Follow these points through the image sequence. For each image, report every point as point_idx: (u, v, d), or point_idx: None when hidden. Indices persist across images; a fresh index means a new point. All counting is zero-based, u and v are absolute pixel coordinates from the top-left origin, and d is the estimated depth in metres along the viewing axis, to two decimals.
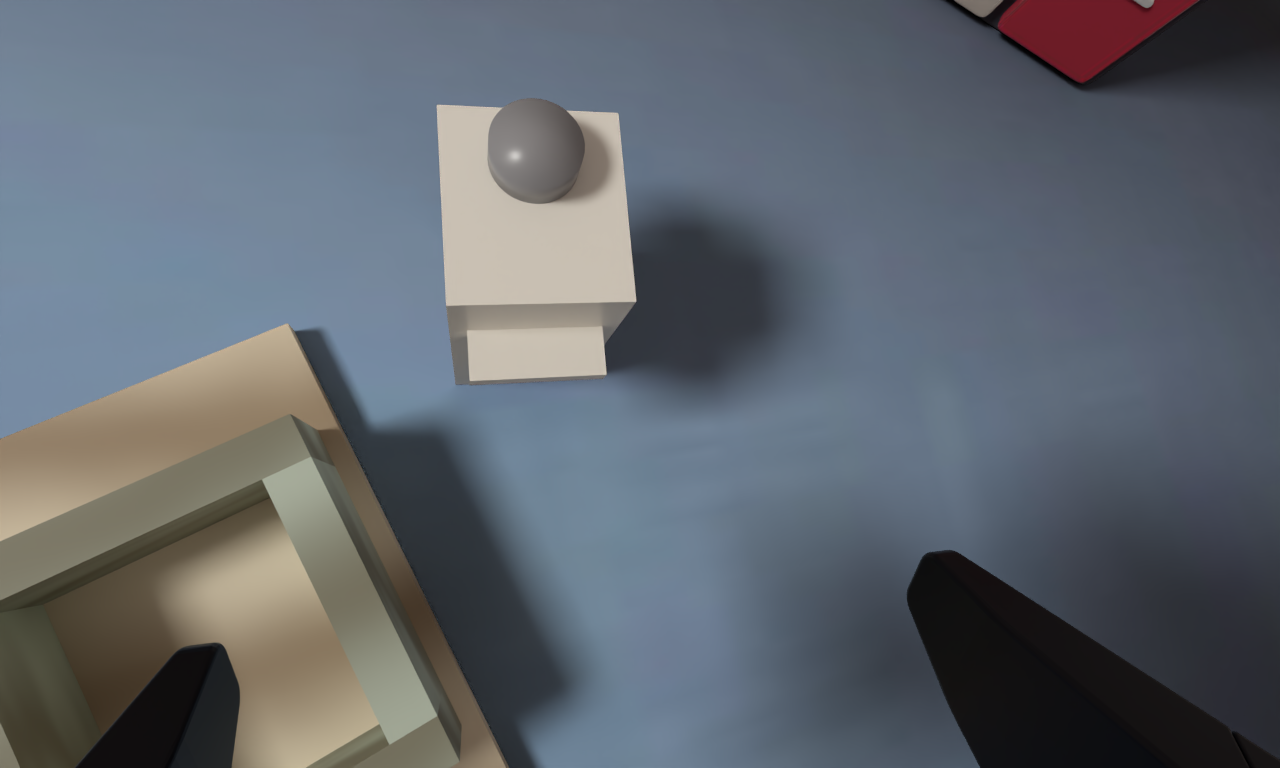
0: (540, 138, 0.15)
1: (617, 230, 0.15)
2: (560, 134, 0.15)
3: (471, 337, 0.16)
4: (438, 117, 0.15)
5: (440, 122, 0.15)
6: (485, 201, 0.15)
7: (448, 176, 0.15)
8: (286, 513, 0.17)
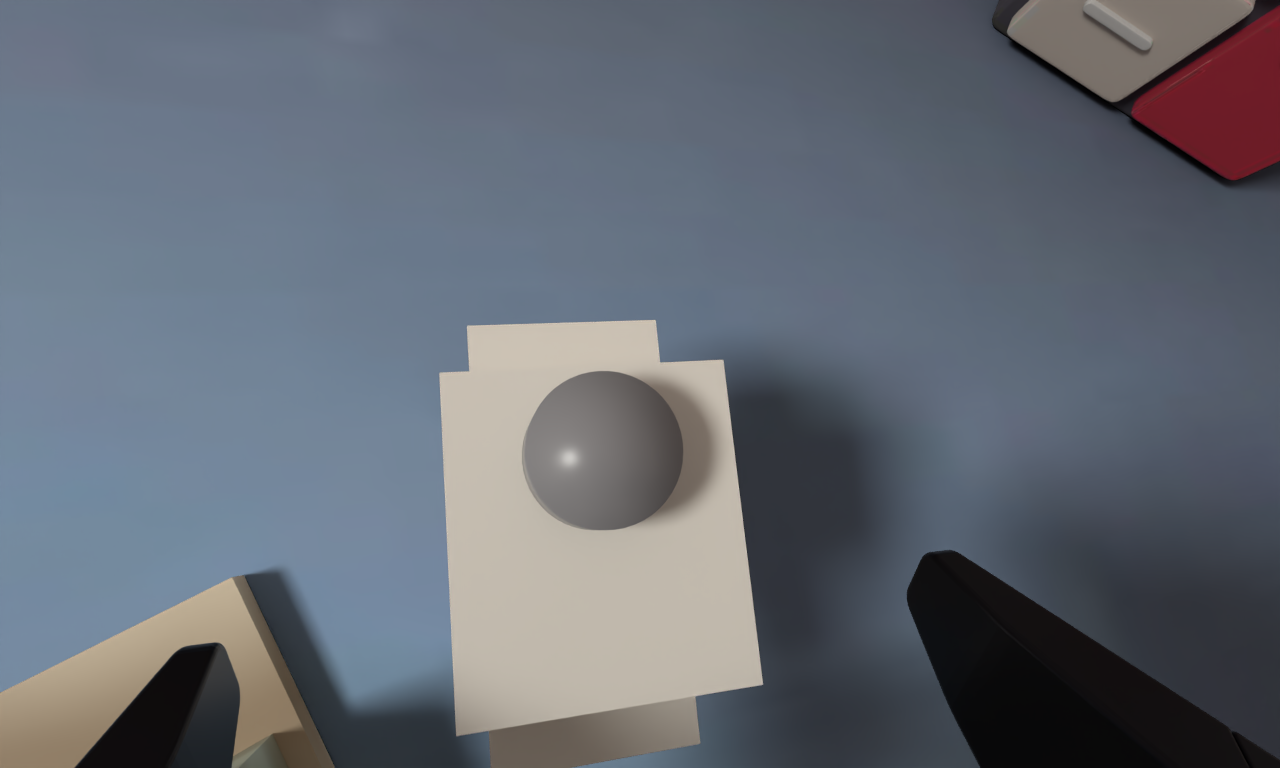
0: (611, 441, 0.09)
1: (729, 561, 0.10)
2: (643, 430, 0.09)
3: None
4: (442, 394, 0.09)
5: (445, 402, 0.09)
6: (519, 535, 0.09)
7: (459, 498, 0.09)
8: None
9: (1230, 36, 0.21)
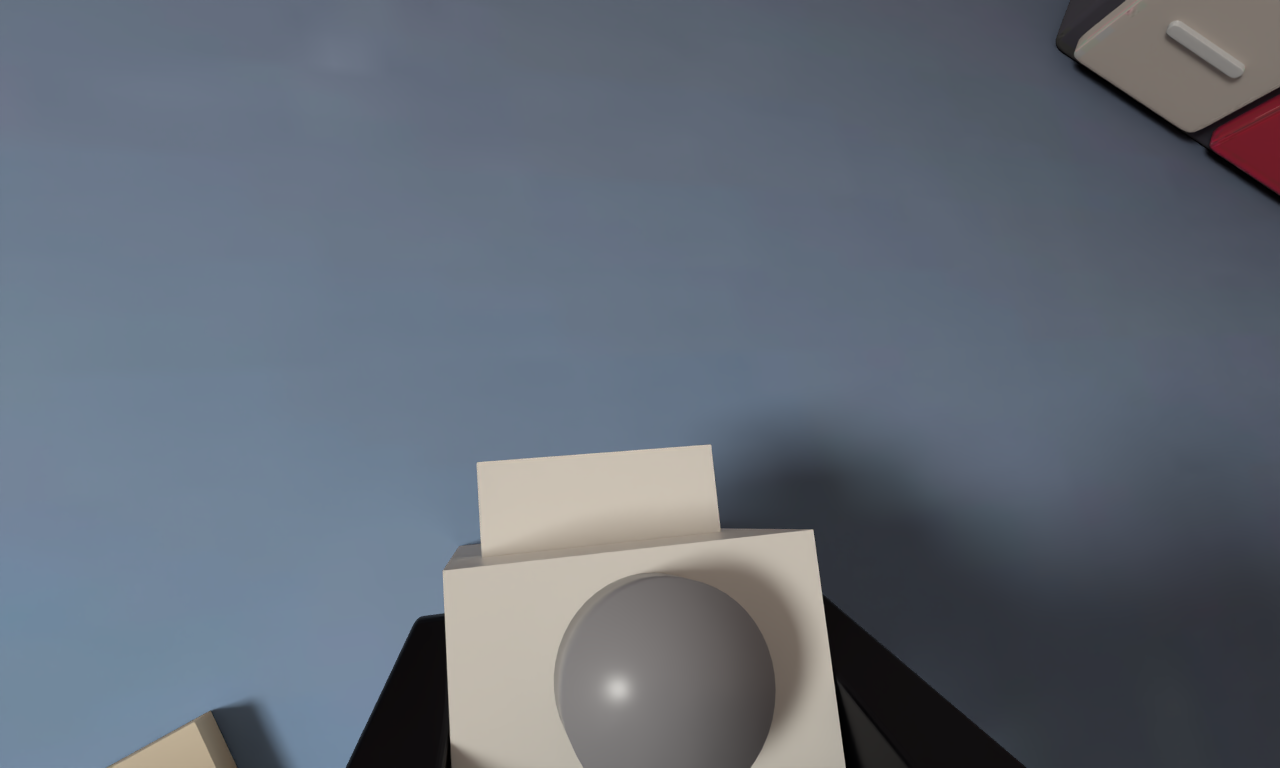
0: (679, 680, 0.06)
1: None
2: (722, 661, 0.07)
3: None
4: (446, 601, 0.07)
5: (451, 612, 0.07)
6: None
7: (469, 749, 0.07)
8: None
9: None
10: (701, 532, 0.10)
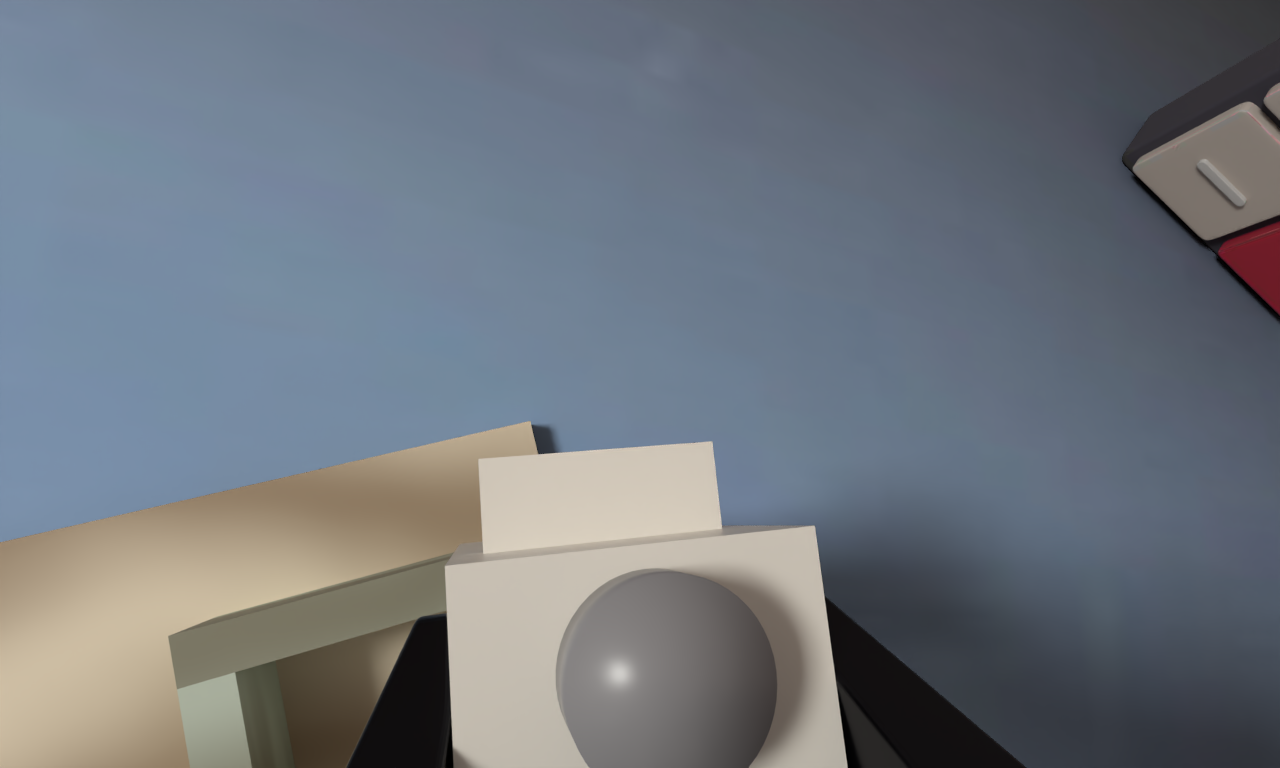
0: (681, 675, 0.06)
1: None
2: (724, 656, 0.07)
3: None
4: (449, 596, 0.07)
5: (453, 607, 0.07)
6: None
7: (471, 744, 0.07)
8: None
9: None
10: (703, 529, 0.10)
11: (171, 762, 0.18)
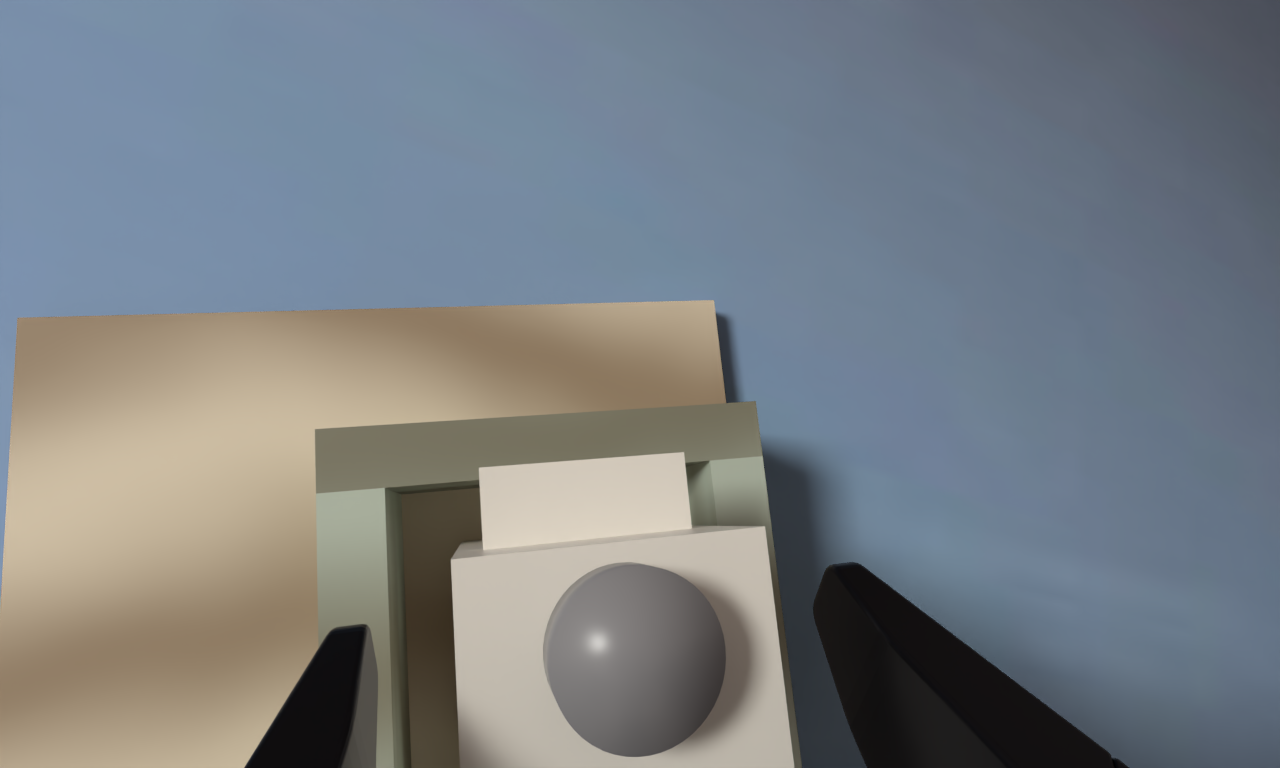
0: (646, 650, 0.08)
1: (773, 762, 0.09)
2: (681, 634, 0.08)
3: None
4: (454, 585, 0.08)
5: (457, 594, 0.08)
6: (540, 746, 0.08)
7: (472, 707, 0.08)
8: (722, 507, 0.15)
9: None
10: (674, 529, 0.11)
11: (269, 604, 0.15)
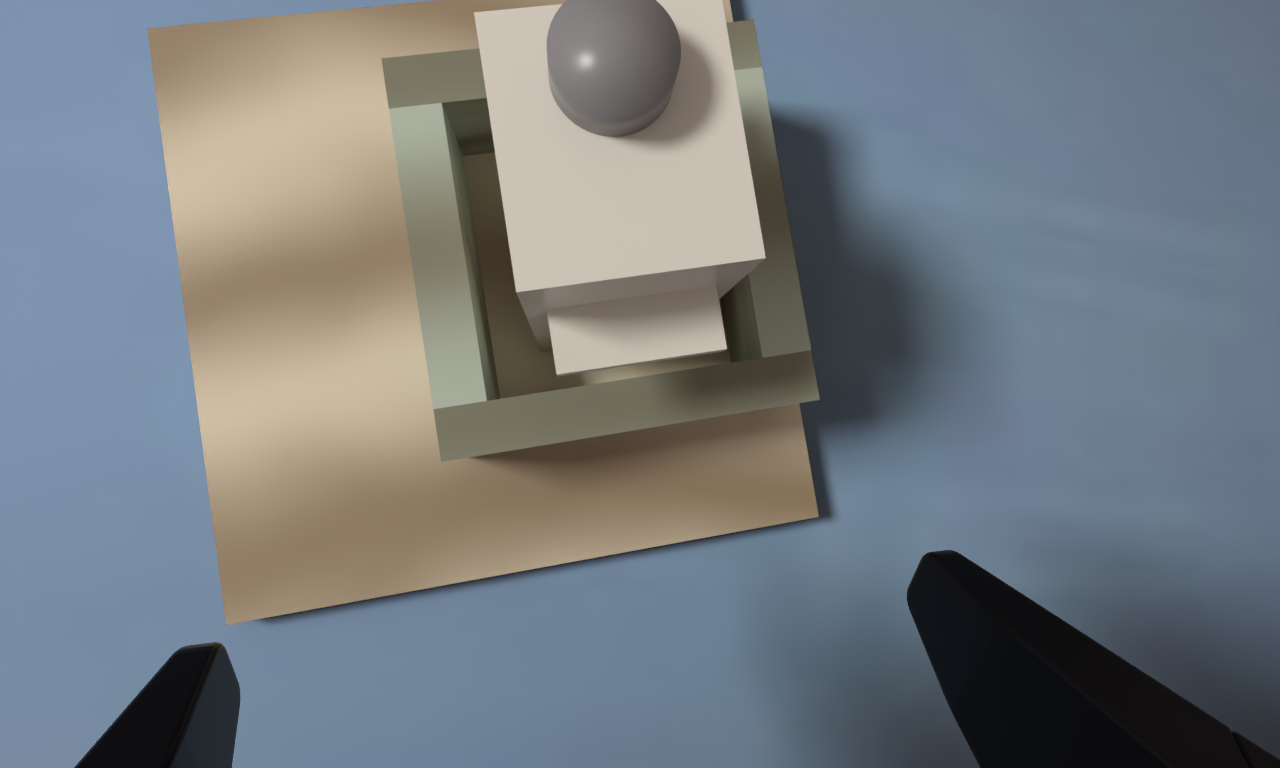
0: (618, 42, 0.10)
1: (732, 160, 0.11)
2: (645, 32, 0.10)
3: (553, 318, 0.13)
4: (478, 30, 0.11)
5: (481, 37, 0.11)
6: (552, 141, 0.11)
7: (499, 113, 0.11)
8: None
9: None
10: None
11: (370, 244, 0.19)
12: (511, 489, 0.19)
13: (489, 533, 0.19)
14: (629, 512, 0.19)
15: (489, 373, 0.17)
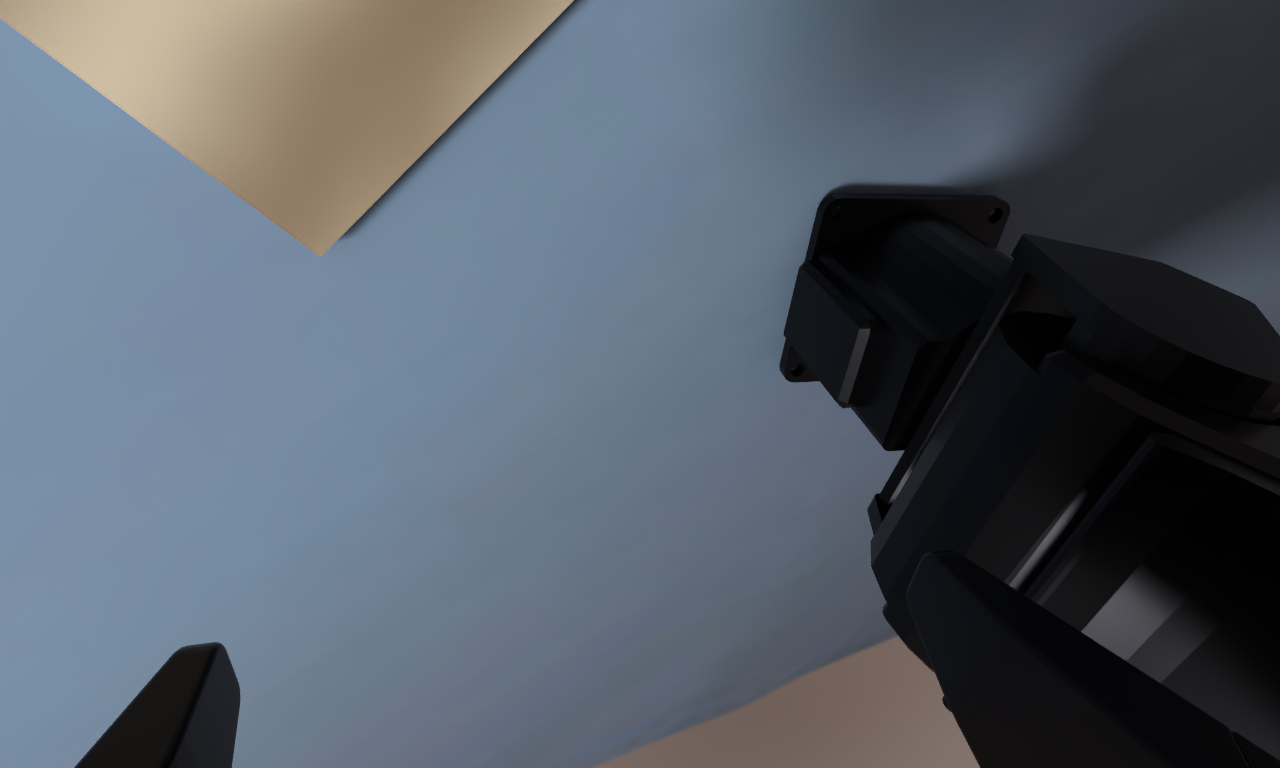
0: None
1: None
2: None
3: None
4: None
5: None
6: None
7: None
8: None
9: None
10: None
11: None
12: None
13: (477, 18, 0.16)
14: None
15: None
